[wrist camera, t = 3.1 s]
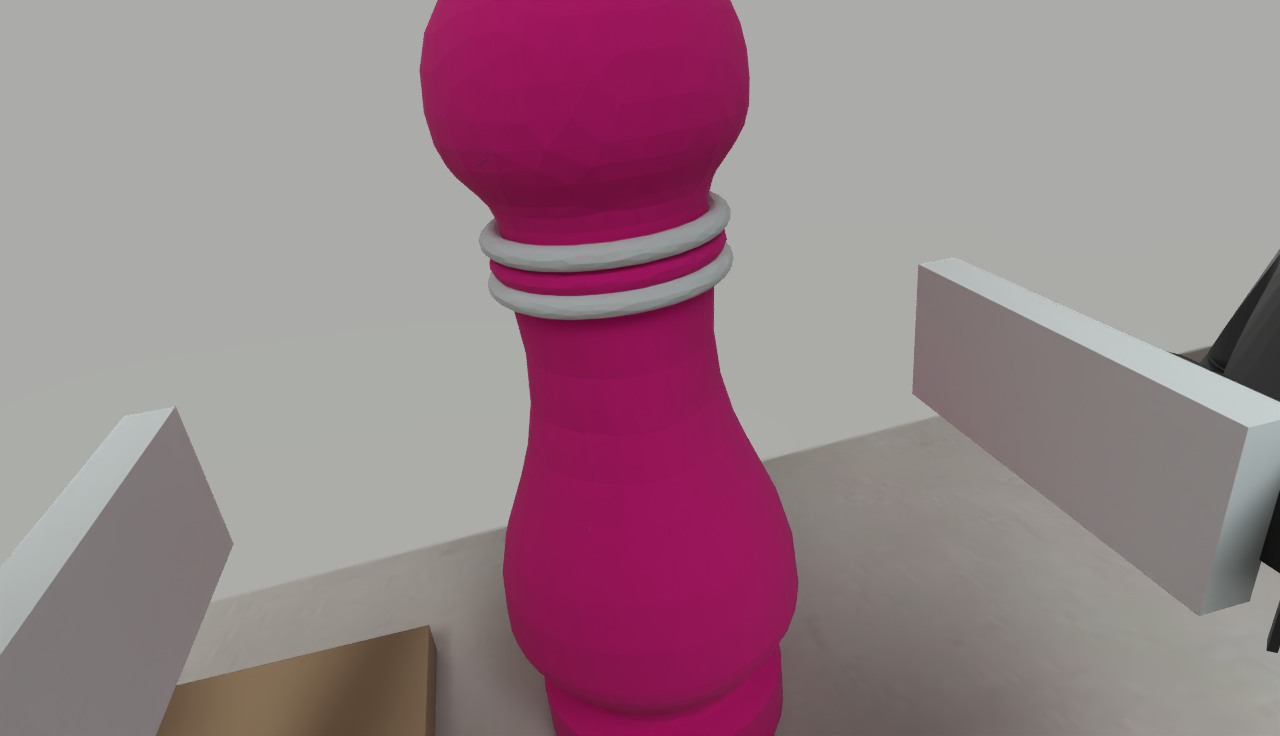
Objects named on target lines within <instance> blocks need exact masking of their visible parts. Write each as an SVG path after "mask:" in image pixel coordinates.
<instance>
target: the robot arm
mask: <svg viewBox="0 0 1280 736" xmlns="http://www.w3.org/2000/svg"><path fill="white" fill-rule="evenodd" d="M916 308H917V309H916V329H915V350H914V370H913V392H912V393H913V394H914V395H915V396H916V397H918V398H919V399H920V400H921V401H923V402H924V403H925V404H926V405H928V406H929V407H930V408H932V409H933V410H934V411H935V412H937V413H938V414H939V415H941V416H942V417H943V418H944V419H946V420H947V421H948V422H950V423H951V424H952V425H954V426H955V427H956V428H957V429H959V430H960V431H961V432H963V433H964V434H965V435H966V436H968V437H969V438H970V439H972V440H973V441H974V442H975V443H977V444H978V445H979V446H981V447H982V448H983V449H984V450H986V451H987V452H988V453H990V454H991V455H992V456H993V457H995V458H996V459H997V460H999V461H1000V462H1001V463H1002V464H1004V465H1005V466H1006V467H1008V468H1009V469H1010V470H1011V471H1013V472H1014V473H1015V474H1017V475H1018V476H1019V477H1020V478H1022V479H1023V480H1024V481H1026V482H1027V483H1028V484H1029V485H1031V486H1032V487H1033V488H1035V489H1036V490H1037V491H1039V492H1040V493H1041V494H1042V495H1044V496H1045V497H1046V498H1048V499H1049V500H1050V501H1051V502H1053V503H1054V504H1055V505H1057V506H1058V507H1059V508H1060V509H1062V510H1063V511H1064V512H1066V513H1067V514H1068V515H1069V516H1071V517H1072V518H1073V519H1075V520H1076V521H1077V522H1078V523H1080V524H1081V525H1082V526H1084V527H1085V528H1086V529H1087V530H1089V531H1090V532H1091V533H1093V534H1094V535H1095V536H1096V537H1098V538H1099V539H1100V540H1102V541H1103V542H1104V543H1105V544H1107V545H1108V546H1109V547H1111V548H1112V549H1113V550H1115V551H1116V552H1117V553H1118V554H1120V555H1121V556H1122V557H1124V558H1125V559H1126V560H1127V561H1129V562H1130V563H1131V564H1133V565H1134V566H1135V567H1136V568H1138V569H1139V570H1140V571H1142V572H1143V573H1144V574H1145V575H1147V576H1148V577H1149V578H1151V579H1152V580H1153V581H1154V582H1156V583H1157V584H1158V585H1160V586H1161V587H1162V588H1163V589H1165V590H1166V591H1167V592H1169V593H1170V594H1171V595H1172V596H1174V597H1175V598H1176V599H1178V600H1179V601H1180V602H1181V603H1183V604H1184V605H1185V606H1187V607H1188V608H1189V609H1190V610H1192V611H1193V612H1194V613H1196V614H1197V615H1198V616H1200V615H1204V614H1207V613H1211V612H1214V611H1217V610H1221V609H1224V608H1228V607H1231V606H1234V605H1238V604H1241V603H1245V602H1248V601H1250V598H1251V594H1252V591H1253V588H1254V584H1255V581H1256V578H1257V574H1258V571H1259V568H1260V564H1261V561H1262V562H1263V563H1265V564H1266V565H1268V566H1270V567H1271V568H1273V569H1274V570H1276V571H1277V572H1279V573H1280V250H1279V251H1278V253H1277V254H1276V255H1275V257H1274V258H1273V260H1272V261H1271V262H1270V264H1269V265H1268V267H1267V268H1266V270H1265V271H1264V272H1263V274H1262V275H1261V277H1260V278H1259V280H1258V281H1257V282H1256V284H1255V285H1254V287H1253V288H1252V290H1251V291H1250V293H1249V294H1248V295H1247V297H1246V298H1245V300H1244V301H1243V303H1242V304H1241V305H1240V307H1239V308H1238V310H1237V311H1236V312H1235V314H1234V315H1233V317H1232V318H1231V320H1230V321H1229V322H1228V324H1227V325H1226V327H1225V328H1224V330H1223V331H1222V333H1221V334H1220V336H1219V337H1218V339H1217V340H1216V342H1215V343H1214V345H1213V346H1212V348H1211V349H1210V351H1209V353H1208V354H1207V356H1206V357H1205V358H1204V359H1203V360H1202V361H1201V363H1198V362H1195V361H1193V360H1191V359H1188V358H1186V357H1184V356H1182V355H1179V354H1175V353H1170V352H1167V351H1164V350H1162V349H1160V348H1158V347H1155V346H1153V345H1150V344H1149V343H1146V342H1144V341H1142V340H1140V339H1137V338H1135V337H1133V336H1130V335H1128V334H1126V333H1124V332H1122V331H1119V330H1117V329H1115V328H1113V327H1110V326H1108V325H1106V324H1104V323H1101V322H1099V321H1097V320H1094V319H1093V318H1090V317H1088V316H1086V315H1083V314H1081V313H1079V312H1077V311H1074V310H1072V309H1070V308H1068V307H1066V306H1063V305H1061V304H1059V303H1057V302H1054V301H1052V300H1050V299H1048V298H1045V297H1043V296H1041V295H1039V294H1036V293H1034V292H1032V291H1030V290H1027V289H1025V288H1023V287H1021V286H1018V285H1016V284H1014V283H1012V282H1010V281H1007V280H1005V279H1003V278H1000V277H998V276H996V275H994V274H992V273H989V272H987V271H985V270H983V269H980V268H978V267H976V266H974V265H971V264H969V263H967V262H965V261H962V260H960V259H958V258H956V257H954V258H948V259H944V260H938V261H933V262H927V263H922V264H919V265H918V286H917V307H916ZM232 546H233V542H232V540H231V537H230V535H229V532H228V530H227V527H226V525H225V523H224V520H223V518H222V516H221V513H220V511H219V508H218V506H217V504H216V501H215V499H214V497H213V494H212V492H211V489H210V487H209V485H208V482H207V480H206V477H205V475H204V473H203V471H202V468H201V466H200V463H199V461H198V458H197V456H196V454H195V451H194V449H193V446H192V444H191V442H190V439H189V437H188V435H187V432H186V430H185V427H184V425H183V423H182V420H181V418H180V416H179V413H178V411H177V408H176V407H170V408H164V409H159V410H154V411H149V412H144V413H138V414H133V415H128V416H124V417H123V418H122V419H121V421H120V422H119V423H118V424H117V426H116V427H115V428H114V429H113V430H112V432H111V433H110V434H109V435H108V437H107V438H106V439H105V440H104V442H103V443H102V444H101V445H100V446H99V448H98V449H97V450H96V451H95V453H94V454H93V455H92V456H91V457H90V458H89V460H88V461H87V462H86V463H85V465H84V466H83V467H82V468H81V469H80V471H79V472H78V473H77V474H76V476H75V477H74V478H73V479H72V480H71V482H70V483H69V484H68V485H67V487H66V488H65V489H64V490H63V491H62V493H61V494H60V495H59V496H58V498H57V499H56V500H55V501H54V502H53V504H52V505H51V506H50V507H49V508H48V510H47V511H46V512H45V513H44V515H43V516H42V517H41V518H40V519H39V521H38V522H37V523H36V525H35V526H34V527H33V528H32V529H31V530H30V532H29V533H28V534H27V535H26V537H25V538H24V539H23V540H22V541H21V543H20V544H19V545H18V546H17V548H16V549H15V550H14V551H13V553H12V554H11V555H10V556H9V557H8V559H7V560H6V561H5V562H4V563H3V565H2V566H1V567H0V736H156V734H157V731H158V729H159V726H160V724H161V721H162V719H163V717H164V714H165V712H166V709H167V707H168V704H169V702H170V699H171V697H172V694H173V692H174V689H175V687H176V684H177V682H178V679H179V677H180V675H181V672H182V670H183V667H184V665H185V662H186V660H187V657H188V655H189V652H190V650H191V647H192V645H193V642H194V640H195V637H196V635H197V633H198V630H199V628H200V625H201V623H202V620H203V618H204V615H205V613H206V610H207V608H208V605H209V603H210V600H211V598H212V595H213V593H214V591H215V588H216V585H217V583H218V581H219V578H220V576H221V573H222V571H223V568H224V566H225V563H226V561H227V558H228V556H229V553H230V551H231V549H232ZM1279 647H1280V602H1279V605H1278V608H1277V611H1276V614H1275V617H1274V620H1273V623H1272V627H1271V630H1270V633H1269V636H1268V640H1267V651H1270V652H1275V653H1278V650H1279Z"/></svg>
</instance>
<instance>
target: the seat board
mask: <svg viewBox="0 0 1280 736" xmlns="http://www.w3.org/2000/svg"><path fill="white" fill-rule="evenodd" d="M435 691H436V647H435V643H434V640H433V637H432V633H431V630H430V627H429V625H428V626H424V627H419V628H415V629H411V630H407V631H403V632H398V633H394V634H390V635H386V636H382V637H378V638H373V639H369V640H365V641H361V642H357V643H353V644H348V645H344V646H340V647H336V648H332V649H328V650H323V651H319V652H315V653H311V654H307V655H303V656H298V657H294V658H290V659H286V660H282V661H277V662H273V663H269V664H265V665H261V666H257V667H252V668H248V669H244V670H240V671H236V672H232V673H227V674H223V675H219V676H215V677H211V678H207V679H202V680H198V681H194V682H190V683H186V684H182V685H177V686H176V687H175V689H174V692H173V694H172V697H171V699H170V702H169V704H168V707H167V709H166V712H165V714H164V717H163V719H162V721H161V724H160V726H159V729H158V731H157V734H156V736H434V734H435Z"/></svg>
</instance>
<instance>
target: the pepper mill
mask: <svg viewBox="0 0 1280 736" xmlns="http://www.w3.org/2000/svg"><path fill="white" fill-rule="evenodd" d="M423 40H424V41H423V47H422V57H421V64H420V78H421V87H422V98H423V108H424V114H425V117H426V121H427V124H428V127H429V130H430V134H431V137H432V140H433V143H434V146H435V147H436V149H437V151H438V153H439V154H440V156H441V158H442V160H443V161H444V163H445V165H446V166H447V167H448V168H449V170H450V171H451V172H452V173H453V175H454V176H455V177H456V178H457V179H458V180H459V181H461V182H462V183H463V184H464V185H465V186H467V187H468V188H469V189H470V190H471V191H472V192H474V193H475V194H476V195H477V196H478V197H479V198H480V199H481V200H482V201H483V202H484V203H485V204H486V205H488V207H489V208H490V210H491V212H492V213H493V215H494V217H495V218H494V219H493V220H491V221H490V223H488V224H487V226H486V227H485V228H484V229H483V230H482V232H481V234H480V238H479V243H480V246H481V250H482V251H483V253H484V254H485V255H486V256H488V257H489V258H490V269H491V271H492V272H491V274H490V277H489V282H488V288H489V291H490V294H491V295H492V297H493V298H494V299H495V300H496V301H498V303H500V304H501V305H503V306H505V307H507V308H509V309H511V310H513V311H514V312H515V315H516V319H517V323H518V326H519V330H520V334H521V337H522V341H523V344H524V348H525V352H526V358H527V368H528V378H529V388H530V399H531V409H530V424H529V438H528V447H527V452H526V456H525V461H524V466H523V470H522V475H521V479H520V482H519V486H518V490H517V493H516V497H515V500H514V504H513V507H512V511H511V514H510V518H509V522H508V527H507V532H506V542H505V553H504V564H503V577H504V585H505V593H506V601H507V609H508V614H509V619H510V623H511V628H512V632H513V634H514V636H515V638H516V641H517V643H518V645H519V646H520V648H521V650H522V651H523V653H524V655H525V656H526V658H527V659H528V660H529V662H530V663H531V664H532V665H533V666H534V667H535V668H536V669H537V670H538V671H539V672H540V673H541V674H542V675H544V677H545V685H546V691H547V696H548V700H549V705H550V709H551V714H552V718H553V723H554V727H555V730H556V733H557V736H774V733H775V730H776V728H777V725H778V722H779V719H780V717H781V708H782V671H781V652H780V647H779V642H780V641H781V639H782V638H783V636H784V635H785V633H786V632H787V630H788V627H789V625H790V622H791V619H792V617H793V614H794V611H795V607H796V601H797V592H798V576H797V568H796V560H795V552H794V544H793V537H792V532H791V529H790V526H789V523H788V521H787V518H786V515H785V512H784V510H783V507H782V504H781V501H780V499H779V496H778V493H777V490H776V488H775V486H774V484H773V482H772V480H771V479H770V477H769V475H768V473H767V471H766V470H765V468H764V466H763V464H762V463H761V461H760V459H759V457H758V455H757V454H756V452H755V450H754V448H753V447H752V445H751V443H750V441H749V439H748V438H747V436H746V434H745V432H744V430H743V428H742V426H741V425H740V422H739V420H738V418H737V416H736V414H735V412H734V411H733V408H732V405H731V402H730V399H729V397H728V394H727V391H726V388H725V385H724V382H723V379H722V376H721V373H720V368H719V362H718V354H717V348H716V341H715V335H714V286H715V285H716V284H717V283H719V282H720V281H721V280H722V279H723V278H724V277H725V276H726V275H727V273H728V272H729V271H730V268H731V266H732V262H733V253H732V250H731V247H730V246H729V245H728V244H727V243H726V240H727V238H726V234H725V229H724V228H725V227H726V226H727V224H728V222H729V220H730V208H729V206H728V204H727V202H726V201H725V200H724V199H723V198H722V197H720V196H719V195H717V194H715V193H712V192H711V191H709V190H710V186H711V182H712V179H713V176H714V174H715V172H716V170H717V168H718V167H719V165H720V164H721V163H722V161H723V160H724V158H725V157H726V155H727V154H728V152H729V151H730V149H731V148H732V146H733V145H734V143H735V141H736V140H737V138H738V136H739V134H740V132H741V130H742V128H743V126H744V123H745V119H746V115H747V111H748V106H749V79H750V78H749V67H748V56H747V48H746V44H745V40H744V36H743V32H742V28H741V24H740V21H739V19H738V17H737V14H736V12H735V10H734V8H733V5H732V3H731V1H730V0H438V1H437V3H436V6H435V8H434V11H433V13H432V15H431V18H430V20H429V23H428V25H427V27H426V30H425V32H424V39H423Z"/></svg>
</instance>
